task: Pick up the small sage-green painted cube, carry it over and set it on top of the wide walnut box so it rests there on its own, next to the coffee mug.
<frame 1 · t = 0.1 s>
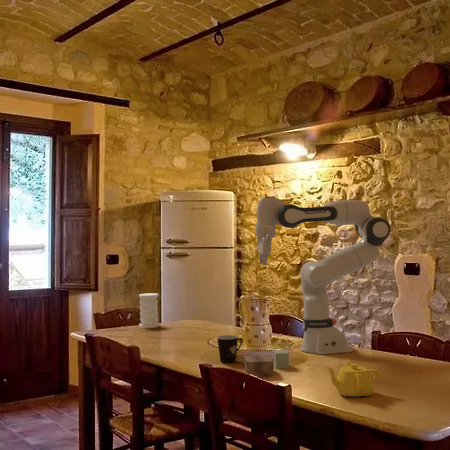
hand: (263, 264, 263), 39 cm above the table, tool pointing down, fingers open, 8 cm apart
green cube: (281, 366, 237), on the table
walnut box: (258, 374, 227), on the table
coffee mug: (231, 361, 249), on the table
decorative container: (149, 326, 336), on the table
teapot: (352, 394, 199), on the table
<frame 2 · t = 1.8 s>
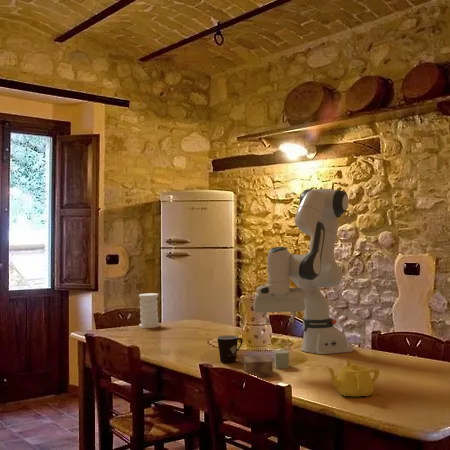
hand: (279, 323, 236), 17 cm above the table, tool pointing down, fingers open, 8 cm apart
nothing on the table moved.
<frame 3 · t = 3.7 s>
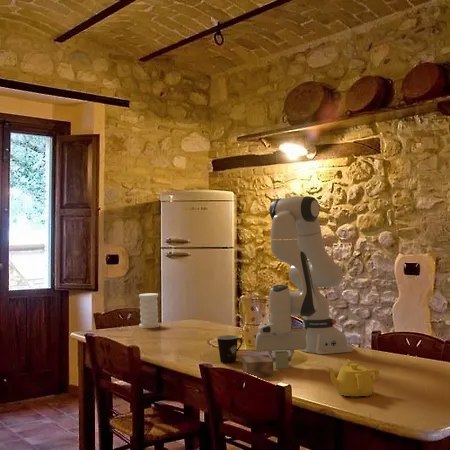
hand: (281, 361, 237), 2 cm above the table, tool pointing down, fingers closed on green cube, 5 cm apart
green cube: (281, 366, 237), on the table, touching gripper
everything else where it was.
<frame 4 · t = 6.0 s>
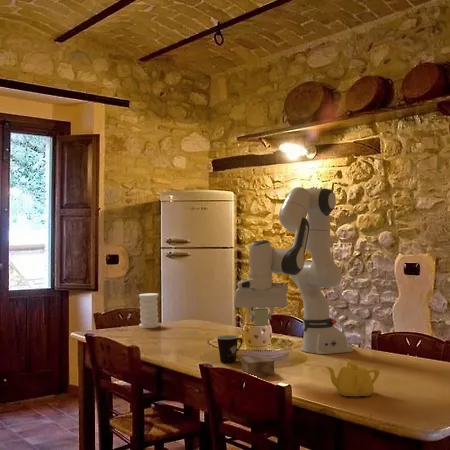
hand: (260, 319, 228), 21 cm above the table, tool pointing down, fingers closed on green cube, 5 cm apart
green cube: (260, 324, 228), point 18 cm above the table, touching gripper
everything else where it was.
when the fingers open (9 cm above the table, at t = 8.5 s): green cube drops 1 cm, resting on walnut box.
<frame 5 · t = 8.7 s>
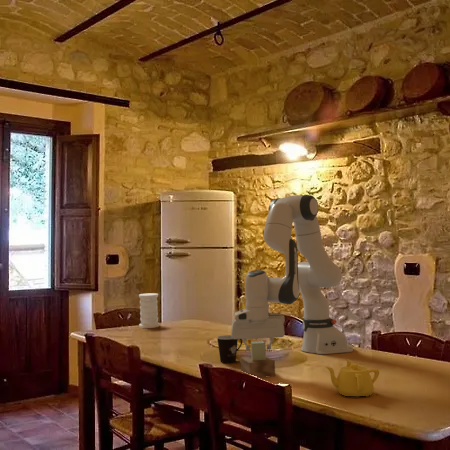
hand: (258, 349, 227), 9 cm above the table, tool pointing down, fingers open, 7 cm apart
green cube: (258, 358, 227), point 6 cm above the table, touching walnut box
walnut box: (257, 374, 227), on the table, touching green cube
everything else where it was.
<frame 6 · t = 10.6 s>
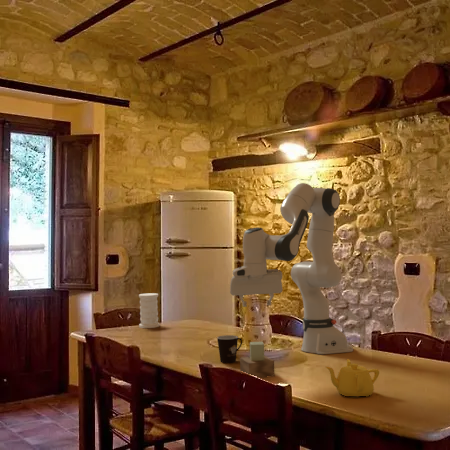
hand: (256, 305, 230), 25 cm above the table, tool pointing down, fingers open, 8 cm apart
nothing on the table moved.
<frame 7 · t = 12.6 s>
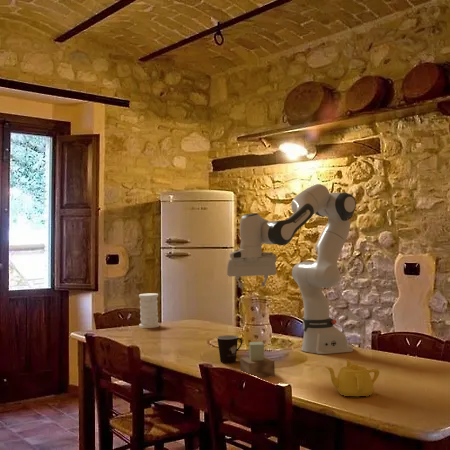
hand: (252, 286, 245), 31 cm above the table, tool pointing down, fingers open, 8 cm apart
green cube: (256, 359, 226), point 6 cm above the table
walnut box: (257, 375, 226), on the table
everything else where it was.
at the end: green cube inside the target area on the walnut box (0.2 cm from its centre), point 6.0 cm above the walnut box's base; green cube tilted 0°; the gripper is holding nothing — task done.
